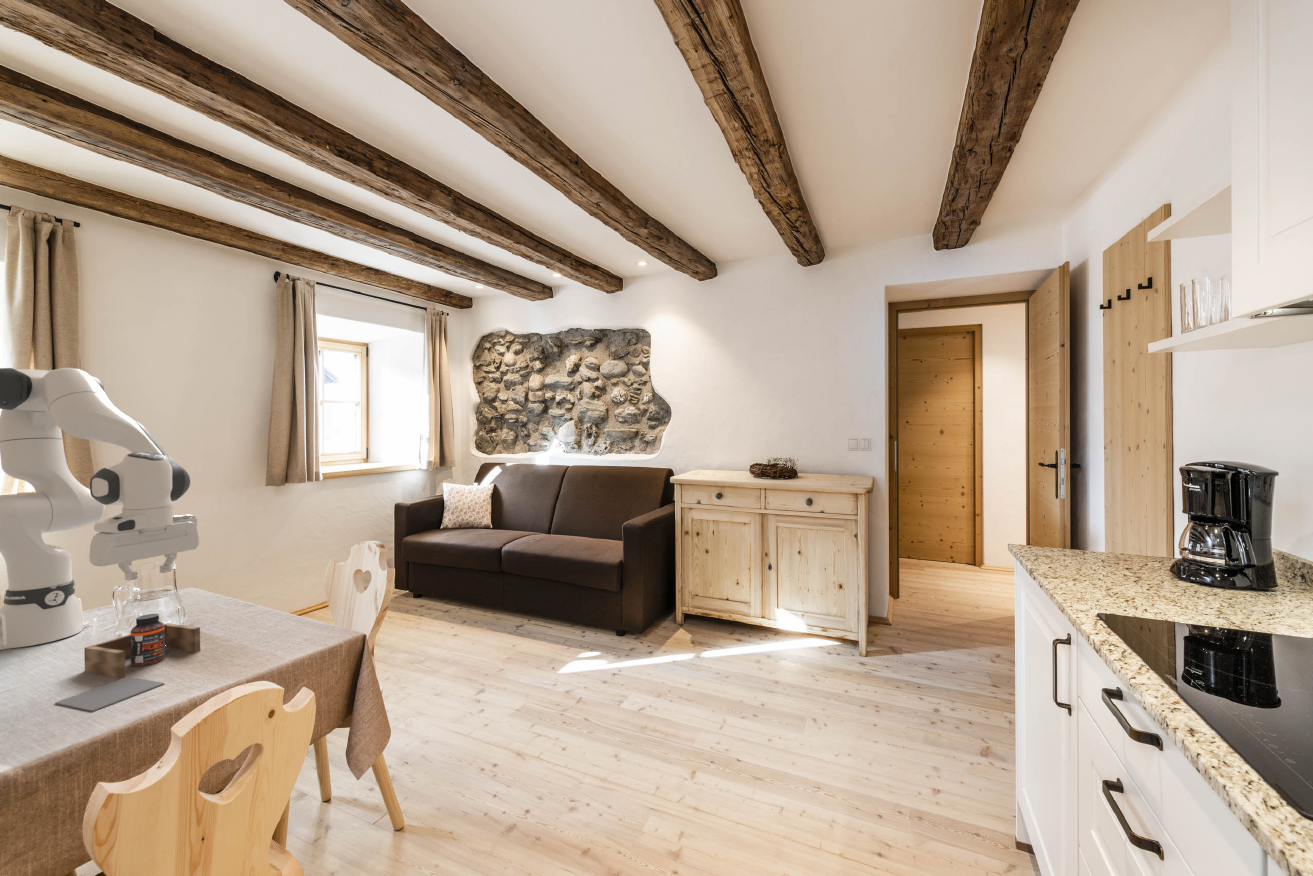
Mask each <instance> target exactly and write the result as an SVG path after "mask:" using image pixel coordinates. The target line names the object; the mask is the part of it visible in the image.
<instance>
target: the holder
mask: <svg viewBox="0 0 1313 876" xmlns="http://www.w3.org/2000/svg"><path fill="white" fill-rule="evenodd" d="M164 630H165V645H166V646H167V648H170V649H175V650H180V651H186V652H190V653H193V654H194V653H199V652H200V651H201V628H200V627H199V626H191V625H183V624H176V623H167V622H166V623H164ZM83 655H84V672H85V673H90V674H94V675H98V676H102V677H107V678H110V679H111V678H112V679H115V680H120V679H123V678H126V661H127V660H129V659H130V660H131V633H129V634H128V635H123V636H121V637H117V638H114V639H113V638H112V639H110V640H107V641H103V642H99V643H97V644H92V645H89V646H86V647H84V654H83Z"/></svg>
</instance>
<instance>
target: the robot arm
mask: <svg viewBox="0 0 1313 876" xmlns="http://www.w3.org/2000/svg"><path fill="white" fill-rule="evenodd" d="M107 395H108V394H107V393H106V392H105V388H104V385H103V383H102V382H101V381H100V379H99V378H98V377H96V376H94V375H91V374H89V373H88V372H86V371H84V370H82V369H79V368H75V367H61V368H57V369H33V368H32V369H29V368H26V369H25V368H24V369H23V368H22V369H21V368H18V369H16V368H12V367H3V368H2V367H1V368H0V410H1V412H0V462H1V464H0V465H1V469H2V471H3V472H4V473H5V474H6V475H8V477H11V478H13V479H17V480H21V481H24V482H27V483H28V484H30V485H31V486H32V487H33V489H34V491H35V492H26V493H15V494H13V493H12V494H1V495H0V554H1V555H2V557H3V560H4V562H5V565H6V574H7V584H8V585H7V587H8V588H7V589H6V590H5V594H4V596H3V598H4V599H3V605H2V607H0V651H1V650H9V649H15V648H26V647H31V646H35V645H36V646H37V645H41V644H45V643H46V644H47V643H50V642H54V641H58V640H61V639H65V638H69V637H71V636H73V635H76V634H78V633H80V632H82V631H83V630H84V629H85V628H87V627H90V621H84V613H83V605H82V599H81V598H79V597H77V596H76V595H74V594H75V593H76V591H75V590H76V584H75V580H74V579H73V571H72V570H73V568H72V565H73V564H72V562H73V561H72V555H71V553H70V552H69V551H68V550H67V549H65V548H63V547H60V546H56V545H51V544H47V543H46V542H44V540H43V537H42V534H46V533H52V532H59V531H60V532H61V531H67V530H75V529H79V528H84V527H86V526H90V525H93V524H94V525H93V530H94V532H97V533H96V534H94V535H93V537H92V539H91V541H90V545H89V546H90V547H89V556H88V557H89V562H90V564H92V565H93V566H95V567H107V566H112V565H113V566H114V565H118V568H119V569H120V570H121V571H122V572H123V573H124V580H125V581H132V580H137V579H138V571H134V570H132V569H131V568H130V567H132V565H133V563H132V562H135V561H139V560H144V559H150V558H156V557H161V556H164V558H166V559H165V561H164V563H163V564H162V565H159V573H160V574H165V573H171V572H172V565H173V564H174V562H175V560H176V558H177V553H183V552H187V551H192V550H196V549H198V547H199V546H200V537H199V532H198V527H197V526H198V519H197V518H196V516H194V515H192V514H189V513H185V514H182V515H181V514H180V515H173V513H174V512H173V510H174V509H173V502H175V501H178V500H179V499H180V498H181V497H183V496H184V495H185V493H186V492H187V491H188V490H189V488H190V485H191V478H190V474H189V473H188V472H187V470H186V469H185V468H184V467H183V466H182V465H180V464H179V463H178V462H177V461H176V460H174V459H173V458H172V456H171V455H169V454H168V453H167V451H166V450H165V449H164V448H163V446H162V445H161V444H160V443H159V442H158V440H157V439H155V437H154V436H153V435H152V434H151V433H150V431H148V430H147V428H146V427H145V426H144V425H143V424H142V423H140V421H138V420H136V419H134V418H131V417H130V416H129V415H126V414H125V413H124V412H123V411H121V410H120V409H118V407H116V406H115V405H114V404H113V402H112V401H110V398H109V397H108V396H107ZM62 432H64V433H66V434H67V435H69V436H72V437H75V438H78V439H84V440H90V441H94V442H95V441H96V442H101V443H107V444H112V445H115V446H119V447H122V448H124V449H126V450H128V451H130V452H131V453H128V454H125V456H124V457H123V460H121V461H120V462H118V463H116V464H114V465H112V466H108V467H102V468H101V469H99V470H98V471H97V472H95V473H94V474H93V475H92V477H91V479H90V481H89V487H86V486H85V485H83V484H82V483H81V482H79V480H78V479H77V478H76V477H75V476H74V475H73V474H72V472H71V471H70V469H69V466H68V462H67V459H66V453H65V447H64V446H65V445H64V439H63V433H62ZM107 506H122V509H121V513H118V514H116V515H114V516H112V517H108V518H106V519H104V520H102V518H103V516H104V515H105V513H106V510H107Z"/></svg>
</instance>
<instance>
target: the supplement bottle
mask: <svg viewBox="0 0 1313 876" xmlns="http://www.w3.org/2000/svg"><path fill="white" fill-rule="evenodd" d="M135 619H136V621H135V624H136V625H134V627H132V628H131V630H130V634H131V658H130V663H131V666H133V667H145V666H151V665H154V664H157V663H159V662H162V661H163V660H164V659H165V658H166V657H165V656H166V647H165V630H164V624H165V623H164V622H162V621H159V620H160V614H159V613H149V614H143V615H139V616H138V617H136V618H135Z"/></svg>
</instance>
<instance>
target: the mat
mask: <svg viewBox="0 0 1313 876" xmlns="http://www.w3.org/2000/svg"><path fill="white" fill-rule="evenodd" d="M164 685H165V682H162V681H161V682H160V681H155V680H150V679H145V678H139V677H133V676H125V678H122V679H119V680H118V679H116V680H114V681H112V682H110V683H106V684H103V685H100V686H97V687H95V688H92V689H90V690H86V691H84V692H81V693H78V694H75V695H72V696H70V697H69V696H68V697H67V698H64V699H61V700H58V701H55V702H54V704H55V705H57V706H63V707H67V708H73V709H77V710H80V711H81V710H82V711H87V712H90V713H94V712H96V711H99V710H101V709H105V708H107V707H109V706H112V705H114V704H117V703H119V702H123V701H125V700H127V699H129V698H133V697H135V696H138V695H140V694H143V693H145V692H148V691H150V690H154V689H156V688H158V687H161V686H164Z"/></svg>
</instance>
